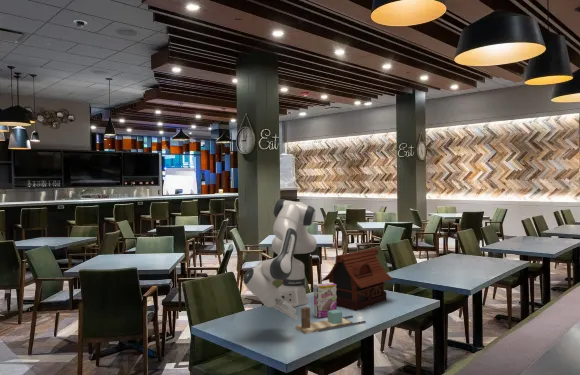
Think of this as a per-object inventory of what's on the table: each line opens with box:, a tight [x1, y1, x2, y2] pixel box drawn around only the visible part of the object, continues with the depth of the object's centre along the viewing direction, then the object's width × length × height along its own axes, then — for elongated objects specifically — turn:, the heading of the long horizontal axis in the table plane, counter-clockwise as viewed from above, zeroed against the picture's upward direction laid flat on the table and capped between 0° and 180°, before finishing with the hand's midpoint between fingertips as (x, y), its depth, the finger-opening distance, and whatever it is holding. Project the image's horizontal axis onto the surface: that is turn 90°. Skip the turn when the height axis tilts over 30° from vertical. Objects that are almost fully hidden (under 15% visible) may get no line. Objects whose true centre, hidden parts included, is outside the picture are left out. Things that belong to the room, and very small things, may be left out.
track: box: [312, 315, 367, 333], centre depth 218 cm, size 26×11×1 cm, turn 117°
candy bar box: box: [313, 282, 338, 319], centre depth 232 cm, size 11×5×16 cm, turn 111°
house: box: [321, 247, 393, 312], centre depth 257 cm, size 35×28×29 cm
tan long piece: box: [295, 306, 353, 335], centre depth 215 cm, size 26×9×10 cm, turn 117°
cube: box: [327, 309, 343, 324], centre depth 218 cm, size 5×5×5 cm
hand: (291, 315), depth 207 cm, fingers open, 8 cm apart
